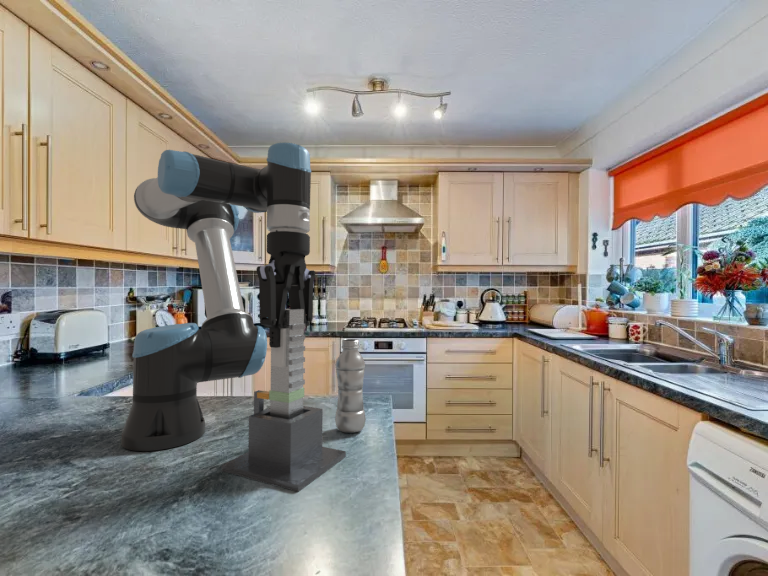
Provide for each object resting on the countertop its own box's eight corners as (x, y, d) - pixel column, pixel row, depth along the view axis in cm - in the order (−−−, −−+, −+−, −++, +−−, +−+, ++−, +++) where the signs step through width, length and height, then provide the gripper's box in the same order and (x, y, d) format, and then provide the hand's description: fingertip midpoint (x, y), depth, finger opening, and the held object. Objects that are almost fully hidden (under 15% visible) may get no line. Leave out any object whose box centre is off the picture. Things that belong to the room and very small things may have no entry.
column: (268, 424, 67) (270, 309, 67) (285, 417, 70) (286, 308, 71) (290, 428, 65) (291, 310, 65) (305, 420, 68) (306, 309, 69)
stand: (221, 470, 64) (222, 399, 65) (277, 442, 77) (278, 382, 77) (298, 491, 58) (298, 412, 58) (345, 456, 70) (346, 391, 71)
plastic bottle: (361, 437, 80) (361, 342, 80) (330, 435, 81) (331, 341, 82) (368, 427, 86) (369, 338, 87) (340, 425, 88) (340, 338, 88)
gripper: (272, 223, 59) (270, 374, 58) (332, 238, 74) (331, 358, 74) (236, 226, 62) (234, 370, 62) (301, 240, 78) (300, 355, 77)
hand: (287, 363), depth 68 cm, fingers closed on column, 4 cm apart
